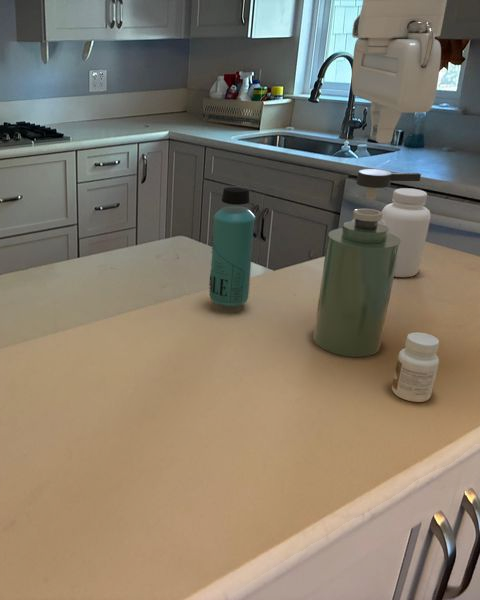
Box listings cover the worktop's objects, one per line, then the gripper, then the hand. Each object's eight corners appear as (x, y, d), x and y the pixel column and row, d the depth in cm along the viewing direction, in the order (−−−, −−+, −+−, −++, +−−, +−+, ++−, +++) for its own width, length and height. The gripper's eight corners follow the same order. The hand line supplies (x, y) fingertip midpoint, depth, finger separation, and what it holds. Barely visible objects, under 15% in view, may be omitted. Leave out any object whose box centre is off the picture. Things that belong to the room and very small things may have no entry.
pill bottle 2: (397, 380, 80) (409, 326, 76) (435, 392, 77) (448, 337, 74) (385, 394, 77) (397, 339, 74) (424, 407, 74) (437, 350, 71)
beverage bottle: (252, 303, 103) (264, 184, 95) (240, 318, 97) (251, 194, 89) (215, 296, 106) (223, 180, 98) (201, 310, 100) (208, 190, 92)
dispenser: (369, 329, 93) (392, 203, 85) (388, 358, 85) (416, 222, 77) (307, 327, 94) (325, 202, 86) (320, 355, 86) (341, 221, 78)
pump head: (409, 196, 82) (414, 169, 81) (420, 204, 78) (426, 175, 77) (350, 195, 83) (354, 168, 82) (358, 203, 79) (363, 175, 78)
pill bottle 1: (416, 281, 110) (433, 199, 103) (367, 273, 113) (381, 193, 107) (420, 267, 116) (437, 188, 110) (374, 260, 120) (388, 184, 113)
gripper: (467, 20, 62) (439, 157, 68) (400, 21, 81) (382, 128, 87) (402, 22, 63) (379, 157, 69) (349, 22, 82) (335, 129, 87)
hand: (380, 141), depth 78 cm, fingers closed
